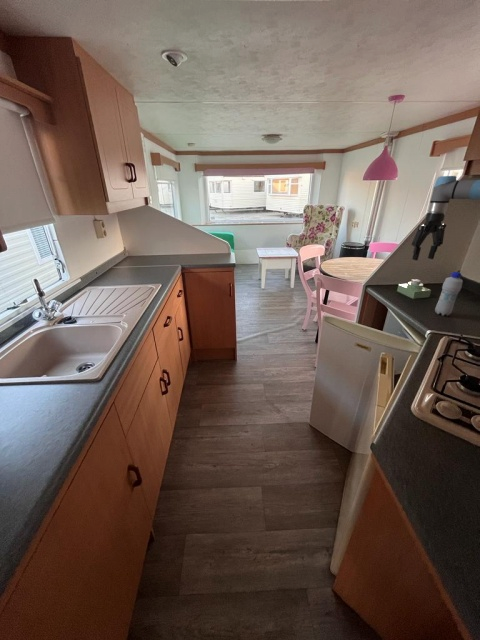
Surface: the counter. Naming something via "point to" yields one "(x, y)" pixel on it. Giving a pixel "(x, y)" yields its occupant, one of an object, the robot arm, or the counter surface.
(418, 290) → the dispenser
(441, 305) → the bottle
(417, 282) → the pump
